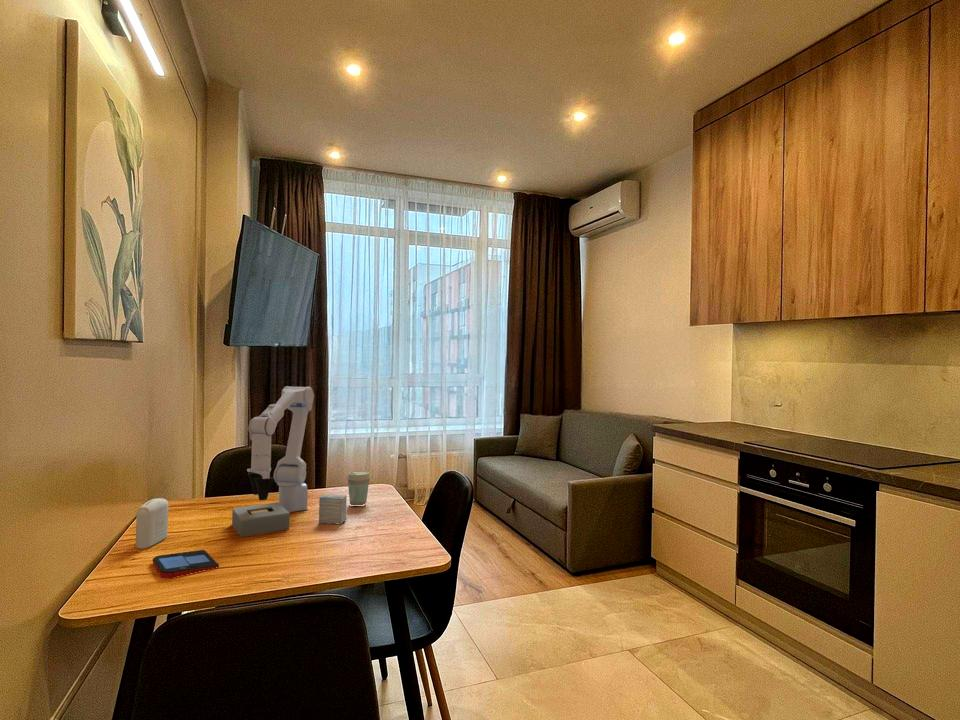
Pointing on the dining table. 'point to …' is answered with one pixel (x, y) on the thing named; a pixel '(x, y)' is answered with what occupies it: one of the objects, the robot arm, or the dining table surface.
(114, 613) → the dining table surface
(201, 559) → the game console
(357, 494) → the coffee cup
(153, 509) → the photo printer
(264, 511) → the wooden block
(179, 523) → the dining table surface
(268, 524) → the money box
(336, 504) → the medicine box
